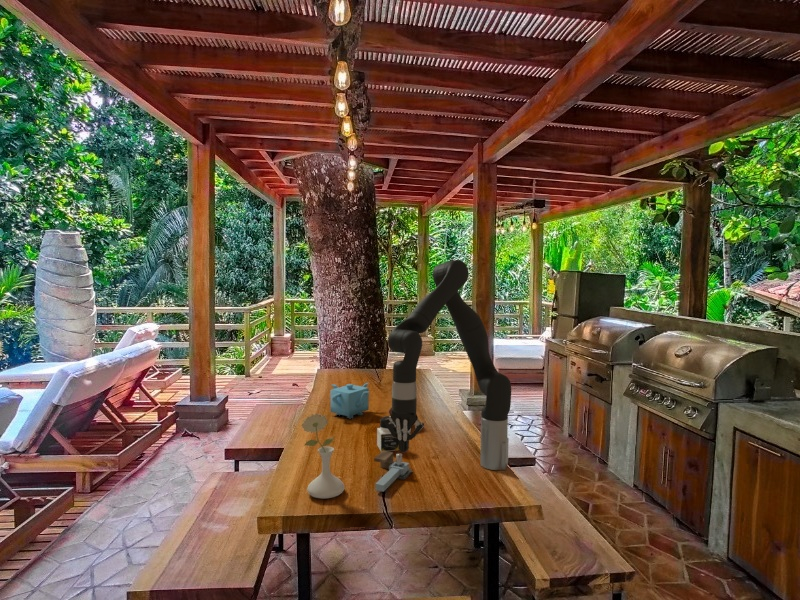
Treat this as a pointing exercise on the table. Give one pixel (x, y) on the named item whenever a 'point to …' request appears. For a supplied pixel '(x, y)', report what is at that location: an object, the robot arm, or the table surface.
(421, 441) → the table surface
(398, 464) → the pintle block
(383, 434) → the medicine bottle
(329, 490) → the flower in vase
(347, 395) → the teakettle
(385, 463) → the block
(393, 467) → the link
